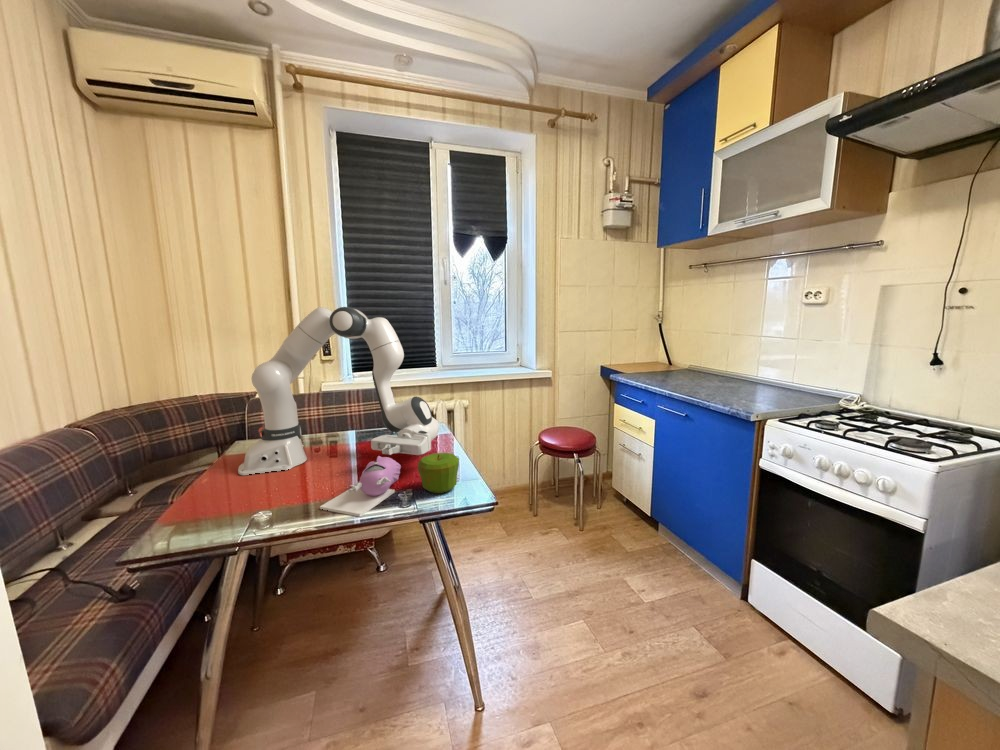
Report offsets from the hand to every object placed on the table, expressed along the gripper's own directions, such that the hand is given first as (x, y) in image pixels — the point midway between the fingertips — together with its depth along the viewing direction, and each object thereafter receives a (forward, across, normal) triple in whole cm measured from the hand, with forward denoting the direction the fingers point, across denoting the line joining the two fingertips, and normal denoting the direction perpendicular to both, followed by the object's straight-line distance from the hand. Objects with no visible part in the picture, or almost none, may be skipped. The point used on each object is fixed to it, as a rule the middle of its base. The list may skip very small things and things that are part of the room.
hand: (385, 452), depth 134 cm
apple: (0, +19, +10) cm, 22 cm away
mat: (+14, 0, +10) cm, 17 cm away
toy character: (0, -1, +6) cm, 6 cm away
